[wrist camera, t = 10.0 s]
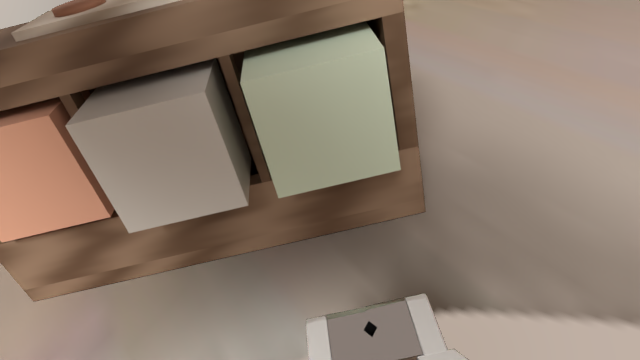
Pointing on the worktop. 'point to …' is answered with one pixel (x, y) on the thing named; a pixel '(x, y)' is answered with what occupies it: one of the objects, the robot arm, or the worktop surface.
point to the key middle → (165, 146)
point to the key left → (44, 173)
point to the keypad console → (228, 48)
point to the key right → (322, 108)
